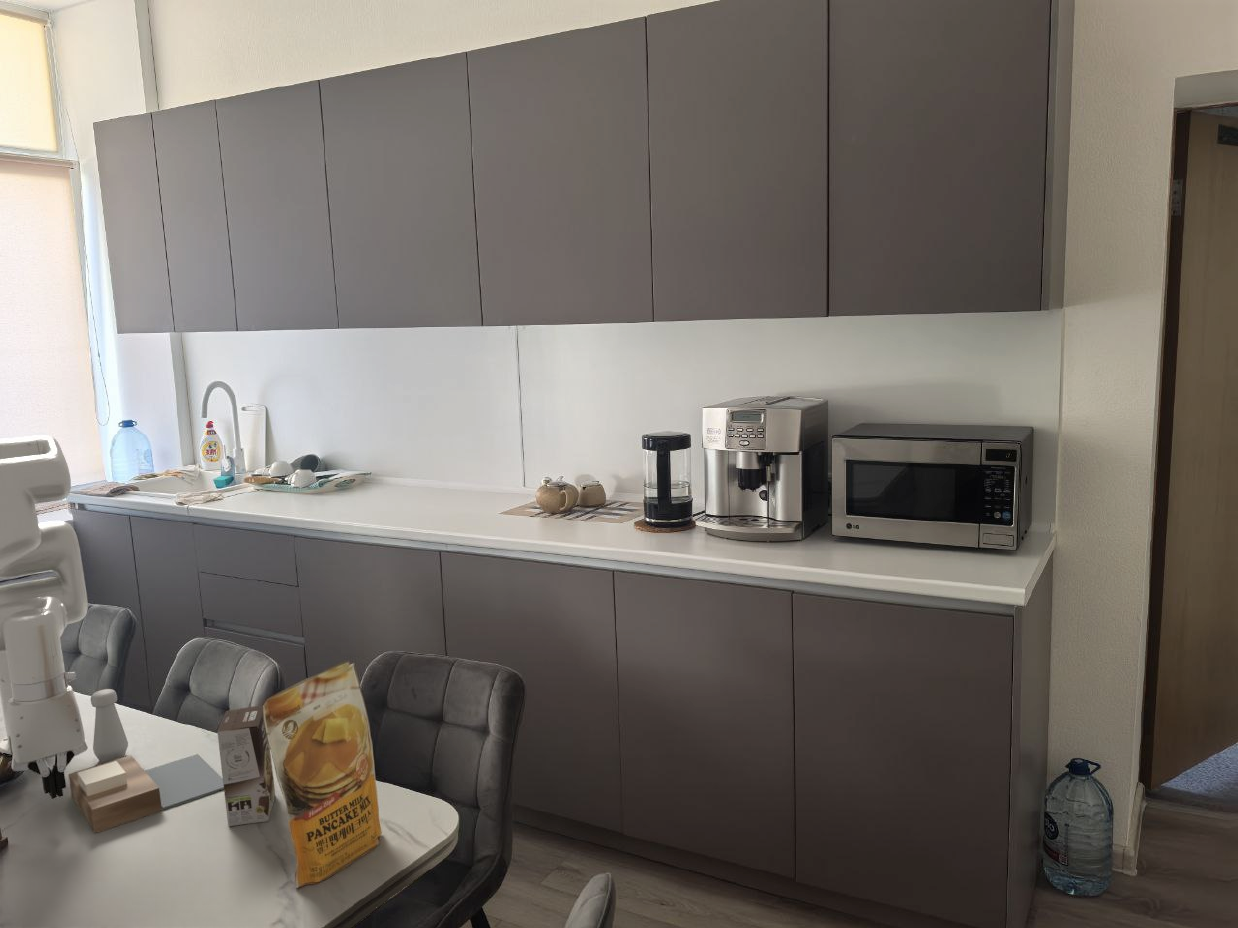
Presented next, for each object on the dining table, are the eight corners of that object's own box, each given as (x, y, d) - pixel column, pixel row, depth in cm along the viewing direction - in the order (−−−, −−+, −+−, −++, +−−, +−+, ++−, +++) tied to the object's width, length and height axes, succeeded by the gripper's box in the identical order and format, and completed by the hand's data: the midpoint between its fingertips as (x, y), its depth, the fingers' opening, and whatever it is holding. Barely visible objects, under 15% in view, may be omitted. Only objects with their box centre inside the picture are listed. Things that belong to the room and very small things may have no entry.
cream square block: (78, 783, 167) (77, 772, 166) (117, 771, 170) (116, 760, 170) (87, 796, 162) (85, 784, 162) (127, 783, 166) (125, 772, 166)
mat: (135, 775, 178) (135, 773, 178) (198, 755, 184) (197, 753, 184) (163, 809, 165) (163, 807, 165) (229, 787, 171) (229, 785, 171)
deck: (71, 795, 171) (68, 773, 171) (134, 775, 177) (131, 754, 177) (95, 832, 158) (92, 809, 158) (162, 810, 164) (159, 787, 164)
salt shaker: (131, 759, 184) (122, 692, 182) (97, 768, 181) (87, 700, 179) (126, 748, 189) (117, 683, 187) (93, 757, 186) (83, 690, 184)
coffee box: (269, 821, 159) (258, 725, 157) (227, 827, 158) (215, 731, 155) (276, 794, 168) (266, 703, 165) (236, 800, 167) (225, 708, 164)
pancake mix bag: (267, 885, 141) (245, 698, 137) (368, 823, 157) (351, 653, 152) (298, 899, 138) (277, 707, 133) (399, 834, 153) (383, 660, 149)
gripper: (86, 668, 166) (100, 771, 169) (-19, 694, 157) (-2, 802, 160) (96, 680, 161) (111, 786, 164) (-12, 707, 151) (6, 819, 154)
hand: (55, 794), depth 162 cm, fingers closed
